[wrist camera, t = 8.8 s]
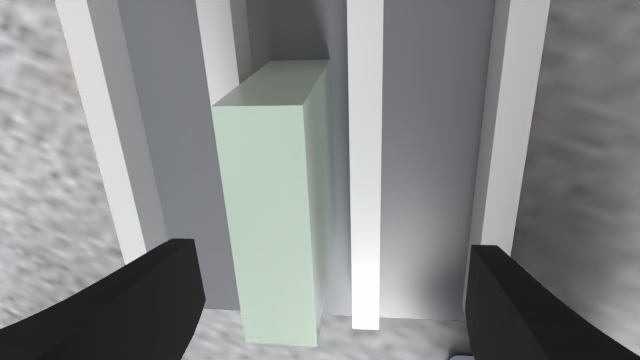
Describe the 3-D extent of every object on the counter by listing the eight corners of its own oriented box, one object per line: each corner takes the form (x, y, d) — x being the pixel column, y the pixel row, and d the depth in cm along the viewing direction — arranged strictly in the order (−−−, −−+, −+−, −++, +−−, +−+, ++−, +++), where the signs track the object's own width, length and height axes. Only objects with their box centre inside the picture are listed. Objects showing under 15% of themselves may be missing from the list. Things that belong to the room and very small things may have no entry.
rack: (493, 309, 23) (509, 354, 20) (158, 294, 25) (132, 332, 22) (554, -107, 15) (592, -125, 13) (72, -74, 18) (16, -84, 15)
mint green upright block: (336, 234, 21) (317, 346, 14) (285, 233, 21) (245, 342, 15) (330, 59, 18) (302, 105, 11) (270, 60, 18) (211, 106, 12)
